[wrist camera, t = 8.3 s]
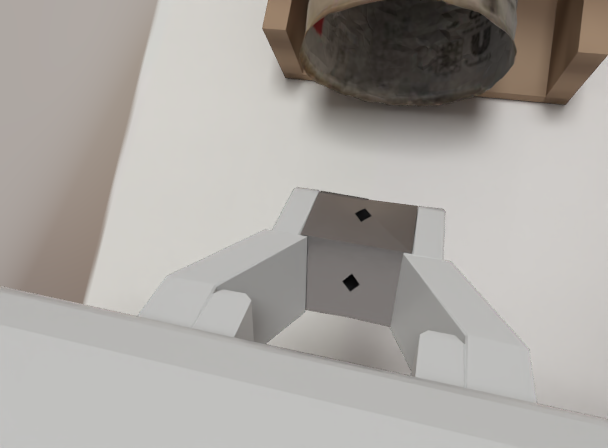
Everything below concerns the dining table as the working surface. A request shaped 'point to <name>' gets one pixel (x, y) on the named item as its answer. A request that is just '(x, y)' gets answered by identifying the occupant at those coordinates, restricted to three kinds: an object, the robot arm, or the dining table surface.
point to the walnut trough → (528, 40)
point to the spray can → (409, 48)
